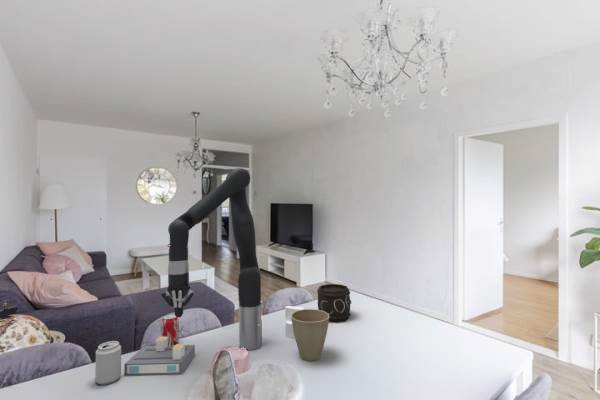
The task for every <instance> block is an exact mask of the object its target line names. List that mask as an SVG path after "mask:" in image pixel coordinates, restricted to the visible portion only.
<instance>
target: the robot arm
mask: <svg viewBox="0 0 600 400" xmlns="http://www.w3.org/2000/svg"><path fill="white" fill-rule="evenodd" d="M250 182H251V175H250V173H249V171H248V170H246V168H241V167H238V168H234V169H232V170H231V171H230V172H228V173H227V175H226V177H225V179H224V181H222V182H221V184H220V185H218V186H217V187H216V188H215V189H213V190H212V191H210V192H209V193H208V194H207V195H205V196H204V197H202V198H201V199H199V200H198V201H197V202H196V203H195V204H193V205H192V206H191V207H189V209H187V211H185V212H184V213H183V214H181V215H179V217H177V218H175V219H173V221H172V222H171V223H169V225H168V229H167V232H168V235H169V247H168V248H169V249H168V268H167V273H168V274H167V276H168V278H167V282H168V283H167V285H168V286H167V288H166V291H165V292H163V293H161V297H162V299H164V301H165V302H166V303H167V305H168V306H169V307H173V308H174V314H175V316H176V317H178V318H181V317H182V316H183V315H184V307H186V306H187V305H188V304H189V303H190V301H192V299H193V298H194V296H195V295H196V293H197V292H196V291H195V290H192V289H191V286H190V266H189V265H190V264H189V248H188V247H189V245H188V244H189V239H190V238H189V235H190V231H191V229H193V228H194V227H195V226H196V225H199V224H200V223H202V222H203V221H204V220H206V218H207V217H209V216H210V215H212V213H213V212H214V211H216V209H217V208H219V207H220V206H221V205H222V204H223V203H224V202H225V201H227V200H228V199H229V202H230V215H231V216H230V217H231V226H232V233H233V234H232V235H233V238H234V242H235V246H236V249H237V252H238V257H239V273H238V280H237V283H238V284H237V285H238V287H237V291H238V292H237V293H238V294H237V295H238V297H237V298H238V308H239V309H238V327H239V329H238V330H239V331H238V333H239V335H238V336H239V337H238V339H239V340H238V342H239V344H238V345H239V348H240V347H244V348H246V349H248V350H247V351H253V350H257V349H261V347H262V345H263V344H262V343H263V321H262V291H261V289H262V288H261V287H262V286H261V284H262V280H261V278H262V274H261V270H260V266H259V263H258V258H257V252H256V249H257V248H256V228H255V223H254V218H253V215H252V212H251V209H250V207H249V204H248V201H247V190H246V189H247V187H248V186H249V184H251V183H250ZM187 295H188V297H187V298H186V296H187ZM185 298H186V299H185Z"/></svg>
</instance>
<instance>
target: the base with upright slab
mask: <svg viewBox="0 0 600 400" xmlns="http://www.w3.org/2000/svg"><path fill="white" fill-rule="evenodd" d="M304 309H306V308H305V307H300V306H292V305H290V306H289V305H287V306H285V309H284V311H285V313H284V315H285V316H284V317H285V319H284V321H285V325H284V327H285V337H287V338H290V339H295V336H294V332H293V326H292V319H291V314H292V313H294V312H296V311H299V310H304Z"/></svg>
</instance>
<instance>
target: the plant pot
mask: <svg viewBox="0 0 600 400" xmlns="http://www.w3.org/2000/svg"><path fill="white" fill-rule="evenodd" d="M291 319H292V326H293V332H294V336H295V338H294V339H295V344H296V346H297V347H296V348H297V350H298V352H299V355H300V358H301V359H302V360H304V361H308V362H313V361H317V360H319V359H320V357H321V354H322V352H323V349H324V345H325V342H326V338H327V335H328V334H327V333H328V328H329V323H330V322H329V314H328V313H326V312H324V311H321V310H318V309H313V308H308V309H307V308H305V309H304V310H299V311H296V312H294V313H292V314H291Z"/></svg>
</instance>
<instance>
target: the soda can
mask: <svg viewBox="0 0 600 400" xmlns="http://www.w3.org/2000/svg"><path fill="white" fill-rule="evenodd" d="M179 323H180V321H179V317H176V316H175V313H171V314H170V313H169V314H166V315H164V316H162V320H161V322H160V337H168V346H173V345H175V344H179V342H180V341H179V338H180V324H179Z"/></svg>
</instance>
